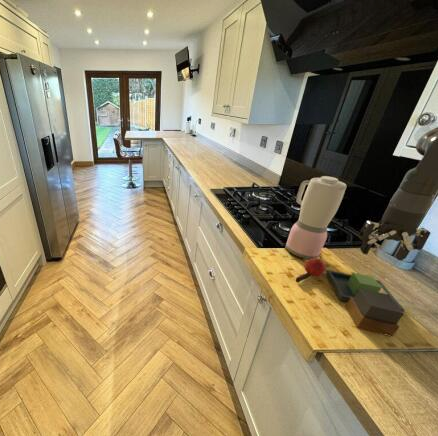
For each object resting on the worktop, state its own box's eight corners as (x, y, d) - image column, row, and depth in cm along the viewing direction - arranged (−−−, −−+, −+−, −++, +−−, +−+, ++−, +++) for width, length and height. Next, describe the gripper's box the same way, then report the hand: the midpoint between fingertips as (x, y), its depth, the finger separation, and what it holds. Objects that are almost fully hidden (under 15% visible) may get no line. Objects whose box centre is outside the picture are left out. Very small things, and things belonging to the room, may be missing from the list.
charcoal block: (382, 305, 67) (389, 294, 66) (396, 324, 62) (404, 313, 60) (353, 298, 69) (359, 288, 68) (364, 316, 63) (371, 305, 62)
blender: (325, 258, 95) (360, 182, 81) (304, 264, 91) (336, 184, 77) (291, 239, 108) (316, 170, 94) (271, 243, 104) (294, 172, 90)
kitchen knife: (297, 283, 80) (299, 278, 79) (294, 281, 81) (296, 277, 80) (327, 269, 88) (329, 265, 87) (324, 267, 89) (326, 263, 88)
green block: (365, 288, 79) (372, 276, 77) (374, 299, 74) (381, 287, 72) (346, 284, 80) (352, 272, 78) (353, 295, 76) (360, 283, 73)
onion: (322, 283, 81) (331, 264, 78) (303, 278, 83) (311, 260, 79) (318, 273, 86) (326, 255, 83) (300, 269, 88) (307, 251, 84)
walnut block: (376, 314, 70) (383, 304, 68) (392, 336, 63) (399, 326, 61) (345, 306, 72) (350, 297, 70) (356, 327, 65) (363, 317, 63)
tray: (377, 285, 81) (380, 280, 80) (400, 315, 70) (404, 310, 69) (325, 274, 85) (327, 270, 85) (339, 301, 74) (342, 295, 73)
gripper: (383, 208, 63) (358, 257, 70) (453, 216, 59) (418, 268, 66) (369, 198, 69) (347, 245, 76) (431, 205, 65) (402, 254, 72)
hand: (380, 255), depth 71 cm, fingers open, 8 cm apart
